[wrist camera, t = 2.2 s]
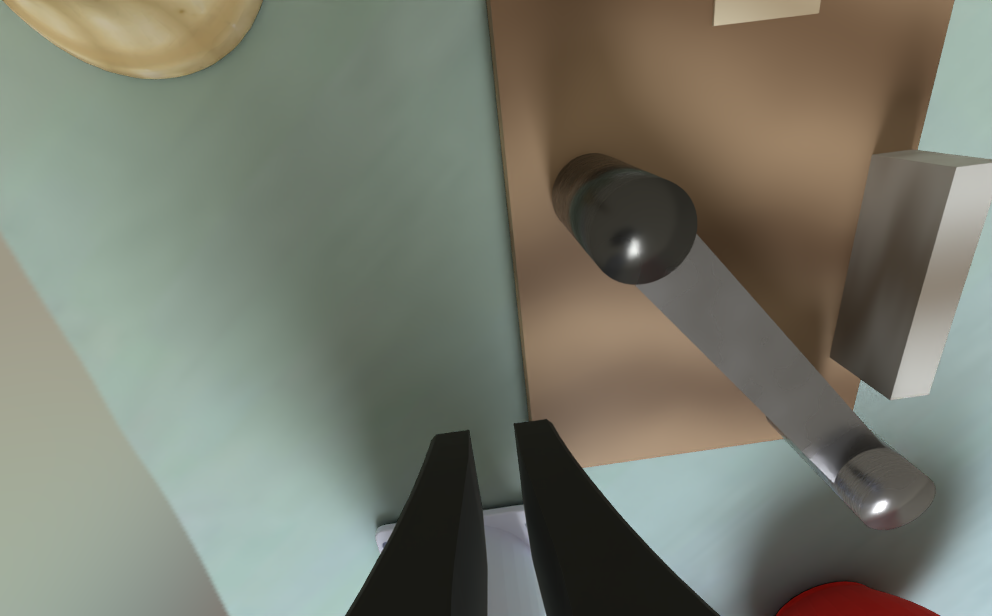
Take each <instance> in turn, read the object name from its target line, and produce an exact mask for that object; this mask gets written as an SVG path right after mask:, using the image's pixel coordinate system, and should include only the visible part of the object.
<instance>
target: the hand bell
mask: <svg viewBox="0 0 992 616" xmlns="http://www.w3.org/2000/svg"><path fill="white" fill-rule="evenodd" d="M3 1H4V2H5V3H6V4H7V5H8V6H9V7H10V8H11V10H13V11H14V12H15V13H16V14H17V15H18V16H19V17H20V18H21V19H23V20H24V21H25V22H26V23H27V24H28V25H29V26H30V27H32V28H33V29H34V30H36V31H37V32H38V33H39V34H41V35H42V36H43V37H45V38H46V39H47V40H49V41H50V42H51V43H53V44H54V45H56V46H57V47H59V48H61V49H62V50H64V51H66V52H67V53H69V54H71V55H73V56H74V57H76V58H78V59H80V60H82V61H84V62H86V63H88V64H90V65H93V66H96V67H98V68H101V69H103V70H106V71H109V72H113V73H117V74H121V75H125V76H130V77H135V78H142V79H166V78H174V77H181V76H185V75H189V74H192V73H195V72H198V71H200V70H202V69H205V68H207V67H209V66H211V65H213V64H215V63H216V62H217V61H219V60H220V59H222V58H223V57H224V56H226V55H227V54H228V53H230V52H231V51H232V50H233V49H234V48H235V47H236V46H237V45H238V44H239V43H240V42H241V41H242V39H243V38H244V36H245V34H246V33H247V32H248V31H249V30H250V28H251V26H252V24H253V22H254V20H255V18H256V16H257V14H258V12H259V10H260V7H261V4H262V2H263V0H3Z"/></svg>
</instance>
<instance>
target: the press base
mask: <svg viewBox="0 0 992 616" xmlns="http://www.w3.org/2000/svg"><path fill="white" fill-rule="evenodd" d="M486 4H487V14H488V23H489V33H490V43H491V53H492V63H493V72H494V82H495V92H496V102H497V112H498V121H499V131H500V141H501V151H502V161H503V170H504V180H505V190H506V200H507V210H508V219H509V229H510V239H511V249H512V259H513V268H514V278H515V288H516V298H517V308H518V317H519V327H520V337H521V347H522V357H523V366H524V376H525V386H526V396H527V406H528V415H529V421H536V420H543V419H547V420H549V421H550V422H551V423H553V425H554V427H555V429H556V430H557V432H558V434H559V435H560V437H561V439H562V440H563V442H564V443H565V445H566V446H567V448H568V449H569V450H570V452H571V453H572V455H573V456H574V458H575V459H576V460H577V462H578V463H579V464H580V466H581V467H582V468H586V467H592V466H599V465H606V464H613V463H620V462H627V461H634V460H641V459H648V458H655V457H661V456H668V455H675V454H682V453H689V452H696V451H703V450H710V449H717V448H724V447H730V446H737V445H744V444H751V443H758V442H765V441H772V440H779V439H784V438H783V437H782V436H781V435H780V434H779V433H778V432H777V431H776V430H775V429H774V428H773V427H772V426H771V425H770V424H769V422H768V421H767V419H766V415H765V414H764V413H763V412H762V411H761V410H760V409H759V408H758V407H757V406H756V405H755V404H754V403H753V402H752V401H751V400H750V399H749V398H748V397H747V396H746V395H745V394H744V393H743V392H742V391H741V390H740V389H739V388H738V387H737V386H736V385H735V384H734V383H733V382H732V381H731V380H730V379H729V378H728V377H727V376H726V375H725V374H724V373H723V372H722V371H721V370H720V369H719V368H718V367H717V366H716V365H715V364H714V363H712V362H711V361H710V360H709V359H708V358H707V357H706V356H705V355H704V354H703V353H702V352H701V351H700V350H699V349H698V348H697V347H696V346H695V345H694V344H693V343H692V342H691V341H690V340H689V339H688V338H687V337H686V336H685V335H684V334H683V333H682V332H681V331H680V330H679V329H678V328H677V327H676V326H675V325H674V324H673V323H672V322H671V321H670V320H669V319H668V318H667V317H666V316H665V315H664V314H663V313H662V312H661V311H660V310H659V309H658V308H657V307H656V306H655V305H654V304H653V303H652V302H651V301H650V300H649V299H648V298H647V297H646V296H645V295H644V294H643V293H642V292H641V291H640V290H639V289H638V288H637V287H636V286H635V285H630V284H624V283H621V282H618V281H615V280H613V279H611V278H610V277H608V276H607V275H606V274H605V273H603V272H602V271H601V269H600V268H599V267H598V266H597V265H596V263H595V262H594V261H593V260H592V259H591V257H590V256H589V255H588V254H587V253H586V251H585V250H584V249H583V248H582V246H581V245H580V244H579V243H578V242H577V240H576V239H575V238H574V237H573V236H572V234H571V233H570V232H569V231H568V230H567V228H566V227H565V226H564V225H563V223H562V222H561V221H560V220H559V218H558V217H557V215H556V213H555V211H554V208H553V204H552V190H553V185H554V182H555V180H556V178H557V176H558V174H559V173H560V171H561V170H562V169H563V167H564V166H565V165H566V164H568V163H569V162H570V161H571V160H573V159H575V158H577V157H579V156H581V155H584V154H589V153H600V154H605V155H608V156H610V157H613V158H615V159H618V160H620V161H623V162H625V163H627V164H630V165H632V166H635V167H637V168H640V169H642V170H644V171H647V172H649V173H652V174H654V175H656V176H659V177H661V178H664V179H666V180H669V181H671V182H673V183H675V184H677V185H678V186H680V187H681V188H682V189H683V190H684V191H685V192H686V193H687V194H688V195H689V197H690V198H691V200H692V202H693V204H694V206H695V209H696V214H697V233H696V234H697V235H698V236H699V237H700V238H701V239H702V241H703V242H704V243H705V244H706V245H707V246H708V247H709V249H710V250H711V251H712V252H713V253H714V254H715V255H716V256H717V258H718V259H719V260H720V261H721V262H722V263H723V264H724V266H725V267H726V268H727V269H728V270H729V271H730V272H731V273H732V275H733V276H734V277H735V278H736V279H737V280H738V281H739V283H740V284H741V285H742V286H743V287H744V288H745V289H746V290H747V292H748V293H749V294H750V295H751V296H752V297H753V298H754V300H755V301H756V302H757V303H758V304H759V305H760V306H761V307H762V309H763V310H764V311H765V312H766V313H767V314H768V315H769V316H770V318H771V319H772V320H773V321H774V322H775V323H776V324H777V326H778V327H779V328H780V329H781V330H782V331H783V332H784V333H785V335H786V336H787V337H788V338H789V339H790V340H791V341H792V343H793V344H794V345H795V346H796V347H797V348H798V349H799V350H800V352H801V353H802V354H803V355H804V356H805V357H806V358H807V360H808V361H809V362H810V363H811V364H812V365H813V366H814V367H815V369H816V370H817V371H818V372H819V373H820V374H821V375H822V377H823V378H824V379H825V380H826V381H827V382H828V383H829V384H830V386H831V387H832V388H833V389H834V390H835V391H836V392H837V393H838V395H839V396H840V397H841V398H842V399H843V400H844V401H845V403H846V404H847V405H848V406H849V407H850V408H851V409H852V410H853V408H854V404H855V400H856V396H857V392H858V388H859V384H860V379H861V380H862V381H864V382H865V383H867V384H868V385H869V386H871V387H872V388H874V389H875V390H877V391H878V392H879V393H881V394H882V395H884V396H885V397H886V398H888V399H889V400H895V399H902V398H909V397H916V396H923V395H929V392H930V389H931V386H932V383H933V380H934V377H935V374H936V371H937V367H938V364H939V361H940V358H941V355H942V352H943V349H944V346H945V343H946V340H947V337H948V333H949V330H950V327H951V324H952V321H953V318H954V315H955V312H956V309H957V306H958V303H959V300H960V296H961V293H962V290H963V287H964V284H965V281H966V278H967V275H968V272H969V269H970V266H971V262H972V259H973V256H974V253H975V250H976V247H977V244H978V241H979V238H980V235H981V232H982V229H983V225H984V222H985V219H986V216H987V213H988V210H989V207H990V204H991V201H992V159H984V158H976V157H968V156H960V155H952V154H944V153H936V152H928V151H920V150H918V145H919V141H920V137H921V133H922V129H923V125H924V121H925V117H926V113H927V109H928V105H929V101H930V97H931V93H932V89H933V85H934V81H935V77H936V73H937V69H938V65H939V61H940V57H941V53H942V49H943V45H944V41H945V37H946V32H947V28H948V24H949V20H950V16H951V12H952V8H953V4H954V0H486Z"/></svg>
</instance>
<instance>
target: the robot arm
mask: <svg viewBox="0 0 992 616" xmlns="http://www.w3.org/2000/svg"><path fill="white" fill-rule="evenodd" d="M514 429H515V438H516V446H517V455H518V463H519V471H520V480H521V488H522V497H523V505H516V506H509V507H502V508H496V509H489V510H483V509H482V503H481V497H480V491H479V485H478V479H477V474H476V468H475V462H474V456H473V450H472V444H471V438H470V432H469V430H465V431H458V432H451V433H444V434H437V435H436V436H435V437H434V438H433V439H432V440H431V443H430V446H429V449H428V452H427V455H426V458H425V460H424V463H423V465H422V468H421V470H420V473H419V475H418V478H417V480H416V482H415V485H414V487H413V489H412V491H411V494H410V496H409V498H408V500H407V502H406V504H405V506H404V508H403V511H402V513H401V515H400V517H399V519H398V521H397V523H393V524H386V525H382V526H380V527H379V528H378V529H377V530H376V535H375V539H376V543H377V546H378V549H379V552H380V556H379V558H378V559H377V561H376V563H375V565H374V567H373V568H372V570H371V572H370V574H369V576H368V578H367V579H366V581H365V583H364V585H363V587H362V588H361V590H360V592H359V593H358V595H357V597H356V599H355V600H354V602H353V604H352V605H351V607H350V609H349V610H348V612H347V613H346V615H345V616H720V615H719V614H718V613H717V612H716V611H715V610H713V609H712V608H711V607H710V606H709V605H708V604H707V603H706V602H705V601H704V600H703V599H702V598H700V597H699V596H698V595H697V594H696V593H695V592H694V591H693V590H692V589H691V588H690V587H689V586H688V585H687V584H686V583H685V582H684V581H683V580H682V579H680V578H679V577H678V576H677V575H676V574H675V573H674V572H673V571H672V570H671V569H670V568H669V567H668V566H667V565H666V564H665V563H664V562H663V560H662V559H661V558H660V557H659V556H658V555H657V554H656V553H655V552H654V551H653V550H652V549H651V548H650V547H649V546H648V545H647V544H646V543H645V542H644V541H643V539H642V538H641V537H640V536H639V535H638V534H637V533H636V532H635V531H634V530H633V529H632V528H631V526H630V525H629V524H628V523H627V522H626V521H625V520H624V519H623V517H622V516H621V515H620V514H619V513H618V512H617V511H616V509H615V508H614V507H613V506H612V505H611V503H610V502H609V501H608V500H607V499H606V497H605V496H604V495H603V494H602V492H601V491H600V490H599V489H598V488H597V486H596V485H595V484H594V483H593V482H592V480H591V479H590V478H589V476H588V475H587V474H586V472H585V471H584V470H583V469H582V467H581V466H580V464H579V463H578V462H577V460H576V459H575V458H574V456H573V455H572V453H571V452H570V450H569V449H568V448H567V446H566V445H565V443H564V442H563V440H562V439H561V437H560V435H559V434H558V432H557V430H556V429H555V427H554V425H553V423H551V422H550V421H549V420H547V419H543V420H536V421H529V422H521V423H514Z"/></svg>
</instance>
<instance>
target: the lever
mask: <svg viewBox="0 0 992 616" xmlns="http://www.w3.org/2000/svg"><path fill="white" fill-rule="evenodd" d="M552 204H553V208H554V211H555V213H556V215H557V217H558V218H559V220H560V221H561V222H562V223H563V225H564V226H565V227H566V228H567V230H568V231H569V232H570V233H571V234H572V236H573V237H574V238H575V239H576V240H577V242H578V243H579V244H580V245H581V246H582V248H583V249H584V250H585V251H586V253H587V254H588V255H589V256H590V257H591V259H592V260H593V261H594V262H595V263H596V265H597V266H598V267H599V268H600V269H601V271H602V272H603V273H605V274H606V275H607V276H608V277H610V278H611V279H613V280H615V281H618V282H621V283H624V284H630V285H635V286H636V287H637V288H638V289H639V290H640V291H641V292H642V293H643V294H644V295H645V296H646V297H647V298H648V299H649V300H650V301H651V302H652V303H653V304H654V305H655V306H656V307H657V308H658V309H659V310H660V311H661V312H662V313H663V314H664V315H665V316H666V317H667V318H668V319H669V320H670V321H671V322H672V323H673V324H674V325H675V326H676V327H677V328H678V329H679V330H680V331H681V332H682V333H683V334H684V335H685V336H686V337H687V338H688V339H689V340H690V341H691V342H692V343H693V344H694V345H695V346H696V347H697V348H698V349H699V350H700V351H701V352H702V353H703V354H704V355H705V356H706V357H707V358H708V359H709V360H710V361H711V362H712V363H714V364H715V365H716V366H717V367H718V368H719V369H720V370H721V371H722V372H723V373H724V374H725V375H726V376H727V377H728V378H729V379H730V380H731V381H732V382H733V383H734V384H735V385H736V386H737V387H738V388H739V389H740V390H741V391H742V392H743V393H744V394H745V395H746V396H747V397H748V398H749V399H750V400H751V401H752V402H753V403H754V404H755V405H756V406H757V407H758V408H759V409H760V410H761V411H762V412H763V413H764V414H765V415H766V419H767V421H768V422H769V424H770V425H771V426H772V427H773V428H774V429H775V430H776V431H777V432H778V433H779V434H780V435H781V436H782V437H783V438H784V439H785V440H786V442H787V443H788V444H789V445H790V446H791V447H792V448H793V449H794V450H795V451H796V452H797V453H798V454H799V455H800V456H801V457H802V458H803V459H804V460H805V461H806V463H807V464H808V465H809V466H810V467H811V468H812V469H813V470H814V471H815V472H816V473H817V474H818V475H819V476H820V477H821V478H822V479H823V480H824V481H825V483H826V484H827V485H828V486H829V487H830V488H831V489H832V490H833V491H834V492H835V493H836V494H837V495H838V496H839V497H840V498H841V499H842V500H843V501H844V502H845V504H846V505H847V506H848V507H849V508H850V509H851V510H852V511H853V512H854V513H855V514H856V515H857V516H858V517H859V518H860V519H861V520H862V521H863V522H864V524H866V525H867V526H868V527H870V528H873V529H877V530H888V529H894V528H897V527H901V526H903V525H905V524H907V523H910V522H911V521H913V520H915V519H916V518H918V517H919V516H920V515H921V514H922V513H924V512H925V511H926V509H927V508H928V507H929V506H930V504H931V503H932V501H933V499H934V496H935V490H936V489H935V485H934V483H933V481H932V480H931V479H930V478H928V477H927V476H926V475H925V474H924V473H922V472H921V471H920V470H919V469H917V468H916V467H915V466H914V465H912V464H911V463H910V462H909V461H908V460H906V459H905V458H904V457H903V456H901V455H900V454H899V453H898V452H896V451H895V450H894V449H893V448H892V447H890V446H889V445H888V444H887V443H885V442H884V441H883V440H882V439H880V438H879V437H878V436H877V435H876V434H874V433H873V432H872V431H871V430H869V429H868V427H867V426H866V425H865V424H864V423H863V422H862V421H861V420H860V418H859V417H858V416H857V415H856V414H855V413H854V412H853V410H852V409H851V408H850V407H849V406H848V405H847V404H846V403H845V401H844V400H843V399H842V398H841V397H840V396H839V395H838V393H837V392H836V391H835V390H834V389H833V388H832V387H831V386H830V384H829V383H828V382H827V381H826V380H825V379H824V378H823V377H822V375H821V374H820V373H819V372H818V371H817V370H816V369H815V367H814V366H813V365H812V364H811V363H810V362H809V361H808V360H807V358H806V357H805V356H804V355H803V354H802V353H801V352H800V350H799V349H798V348H797V347H796V346H795V345H794V344H793V343H792V341H791V340H790V339H789V338H788V337H787V336H786V335H785V333H784V332H783V331H782V330H781V329H780V328H779V327H778V326H777V324H776V323H775V322H774V321H773V320H772V319H771V318H770V316H769V315H768V314H767V313H766V312H765V311H764V310H763V309H762V307H761V306H760V305H759V304H758V303H757V302H756V301H755V300H754V298H753V297H752V296H751V295H750V294H749V293H748V292H747V290H746V289H745V288H744V287H743V286H742V285H741V284H740V283H739V281H738V280H737V279H736V278H735V277H734V276H733V275H732V273H731V272H730V271H729V270H728V269H727V268H726V267H725V266H724V264H723V263H722V262H721V261H720V260H719V259H718V258H717V256H716V255H715V254H714V253H713V252H712V251H711V250H710V249H709V247H708V246H707V245H706V244H705V243H704V242H703V241H702V239H701V238H700V237H699V236H698V235H697V234H696V233H697V214H696V209H695V206H694V204H693V202H692V200H691V198H690V197H689V195H688V194H687V193H686V192H685V191H684V190H683V189H682V188H681V187H680V186H678V185H677V184H675V183H673V182H671V181H669V180H666V179H664V178H661V177H659V176H656V175H654V174H652V173H649V172H647V171H644V170H642V169H640V168H637V167H635V166H632V165H630V164H627V163H625V162H623V161H620V160H618V159H615V158H613V157H610V156H608V155H605V154H600V153H589V154H584V155H581V156H579V157H577V158H575V159H573V160H571V161H570V162H569V163H568V164H566V165H565V166H564V167H563V169H562V170H561V171H560V173H559V174H558V176H557V178H556V180H555V182H554V185H553V190H552Z"/></svg>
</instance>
